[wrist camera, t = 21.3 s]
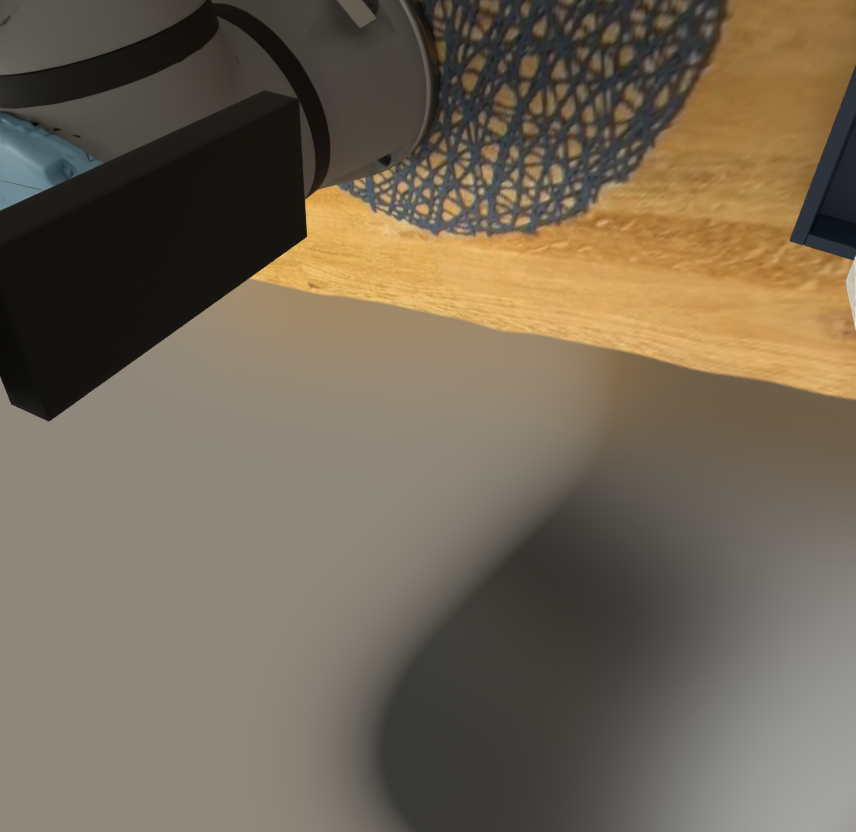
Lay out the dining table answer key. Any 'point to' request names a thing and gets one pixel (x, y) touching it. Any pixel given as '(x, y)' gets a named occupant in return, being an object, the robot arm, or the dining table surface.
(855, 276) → the foam cup
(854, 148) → the tray
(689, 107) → the dining table surface
